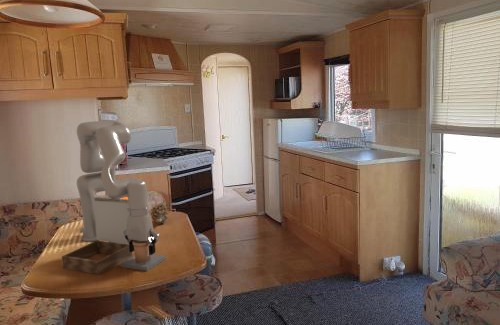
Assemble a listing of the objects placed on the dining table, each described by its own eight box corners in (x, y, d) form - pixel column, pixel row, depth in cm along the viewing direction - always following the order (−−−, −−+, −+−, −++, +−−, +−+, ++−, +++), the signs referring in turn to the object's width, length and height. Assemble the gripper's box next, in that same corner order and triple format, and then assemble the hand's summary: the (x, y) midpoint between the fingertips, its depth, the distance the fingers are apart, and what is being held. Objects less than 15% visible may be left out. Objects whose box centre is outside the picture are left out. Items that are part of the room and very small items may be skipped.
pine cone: (150, 219, 226) (149, 202, 225) (168, 217, 229) (167, 200, 227) (151, 231, 205) (150, 212, 204) (171, 229, 208) (169, 210, 206)
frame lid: (131, 244, 173) (132, 243, 174) (129, 200, 171) (130, 199, 172) (96, 239, 181) (98, 239, 182) (94, 197, 179) (96, 197, 180)
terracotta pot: (130, 261, 164) (127, 232, 162) (141, 255, 170) (139, 227, 168) (144, 263, 161) (141, 234, 159) (154, 257, 167) (152, 228, 166)
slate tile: (120, 266, 163) (120, 263, 163) (140, 255, 174) (139, 252, 174) (147, 271, 158) (147, 267, 158) (165, 259, 169) (165, 255, 169)
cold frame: (63, 268, 164) (61, 256, 164) (97, 251, 181) (96, 240, 181) (99, 274, 157) (98, 262, 156) (132, 256, 174) (131, 245, 173)
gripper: (115, 212, 163) (119, 253, 165) (150, 215, 156) (154, 258, 158) (127, 207, 169) (131, 247, 172) (162, 210, 162) (165, 251, 165)
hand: (142, 252), depth 165 cm, fingers open, 9 cm apart
